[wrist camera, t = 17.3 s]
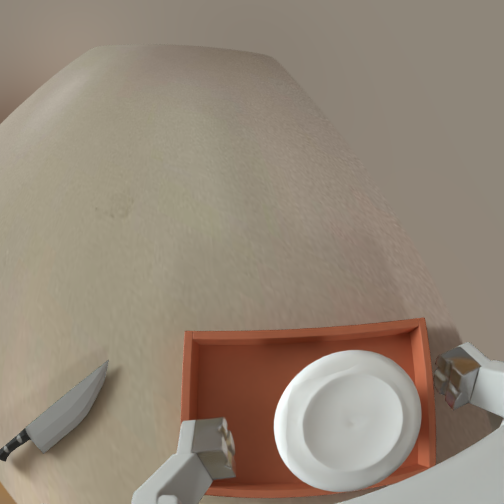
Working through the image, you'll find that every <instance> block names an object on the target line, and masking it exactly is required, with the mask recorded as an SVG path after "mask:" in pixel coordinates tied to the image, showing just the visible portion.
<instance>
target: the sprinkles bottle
mask: <svg viewBox="0 0 504 504" xmlns="http://www.w3.org/2000/svg"><path fill="white" fill-rule="evenodd" d="M420 426H421V403H420V398H419V395H418V392H417V389H416V387H415V385H414V383H413V381H412V379H411V378H410V376H409V375H408V374H407V373H406V372H405V370H404V369H402V368H401V367H400V366H399V365H398V364H397V363H395V362H394V361H393V360H391V359H390V358H387V357H385V356H383V355H381V354H378V353H375V352H371V351H364V350H347V351H340V352H336V353H332V354H330V355H327V356H324V357H322V358H320V359H318V360H316V361H314V362H313V363H311V364H309V365H308V366H307V367H305V368H304V369H303V370H302V371H301V372H300V373H299V374H297V375H296V376H295V378H294V379H293V380H292V381H291V382H290V383H289V385H288V386H287V387H286V389H285V391H284V392H283V394H282V396H281V398H280V400H279V403H278V405H277V409H276V412H275V418H274V435H275V441H276V445H277V448H278V451H279V454H280V456H281V458H282V460H283V461H284V463H285V465H286V466H287V467H288V468H289V469H290V471H291V472H292V473H293V474H294V475H295V476H297V477H298V478H299V479H300V480H302V481H303V482H305V483H307V484H308V485H310V486H313V487H315V488H318V489H321V490H326V491H331V492H350V491H356V490H361V489H365V488H367V487H370V486H372V485H374V484H377V483H379V482H380V481H382V480H384V479H385V478H387V477H388V476H390V475H391V474H392V473H393V472H394V471H396V470H397V469H398V468H399V467H400V466H401V465H402V463H403V462H404V461H405V460H406V459H407V457H408V456H409V454H410V452H411V451H412V449H413V447H414V445H415V443H416V440H417V437H418V434H419V430H420Z"/></svg>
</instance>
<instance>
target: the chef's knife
mask: <svg viewBox="0 0 504 504" xmlns="http://www.w3.org/2000/svg"><path fill="white" fill-rule="evenodd" d="M108 362H109V360H108V361H106V362H105V363H104V364H103V365H101V366H100V367H99V368H97V369H96V370H95V371H94V372H92V373H91V374H90V375H89V376H87V377H86V378H85V379H84V380H82V381H81V382H80V383H79V384H77V385H76V386H75V387H74V388H72V389H71V390H70V391H69V392H67V393H66V394H65V395H64V396H63V397H61V398H60V399H59V400H58V401H57V402H55V403H54V404H53V405H52V406H51V407H49V408H48V409H47V410H46V411H45V412H43V413H42V414H41V415H40V416H39V417H37V418H36V419H35V420H34V421H33V422H31V423H30V424H29V425H28V426H27V427H26V428H25V429H24V430H23V431H21V432H20V433H19V434H18V435H17V436H16V437H15V438H13V439H12V440H11V441H10V442H9V443H7V444H6V445H5V446H4V447H3V448H1V449H0V460H3V461H6V459H7V457H8V456H9V454H10V453H11V452H12V451H13V450H15V449H16V448H17V447H19V446H20V445H22V444H24V443H25V442H27V441H28V440H29V439H30V440H32V441H33V442H34V443H35V445H36V446H37V447H38V448H39V449H40V450H41V452H42V453H43V454H44V453H45V452H46V451H47V450H49V449H50V448H51V447H52V446H53V445H55V444H56V443H57V442H58V441H59V440H61V439H62V438H63V437H64V436H65V435H67V434H68V433H69V432H70V431H71V430H72V429H74V428H75V427H76V426H77V425H78V424H79V423H80V422H81V421H82V420H83V419H84V417H85V416H86V415H87V414H88V412H89V410H90V408H91V406H92V405H93V403H94V401H95V399H96V397H97V395H98V393H99V391H100V389H101V387H102V385H103V383H104V380H105V376H106V371H107V366H108Z"/></svg>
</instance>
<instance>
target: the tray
mask: <svg viewBox="0 0 504 504" xmlns="http://www.w3.org/2000/svg"><path fill="white" fill-rule="evenodd" d="M347 350H364V351H371V352H375V353H378V354H381V355H383V356H385V357H387V358H390V359H391V360H393V361H394V362H395V363H397V364H398V365H399V366H400V367H401V368H402V369H404V370H405V372H406V373H407V374H408V375H409V376H410V378H411V379H412V381H413V383H414V385H415V387H416V389H417V392H418V395H419V398H420V403H421V426H420V430H419V434H418V437H417V440H416V443H415V445H414V447H413V449H412V451H411V452H410V454H409V456H408V457H407V459H406V460H405V461H404V462H403V463H402V465H401V466H400V467H399V468H398V469H397V470H396V471H394V472H393V473H392V474H391V475H390V476H388V477H387V478H385V479H384V480H382V481H380V482H379V483H377V484H374V485H372V486H370V487H367V488H365V489H369V488H375V487H380V486H385V485H389V484H394V483H398V482H400V481H402V480H405V479H407V478H410V477H412V476H414V475H416V474H418V473H421V472H423V471H425V470H427V469H429V468H431V467H433V466H435V465H436V419H435V399H434V386H433V375H432V365H431V357H430V349H429V341H428V334H427V328H426V322H425V318H416V319H408V320H400V321H391V322H382V323H372V324H361V325H350V326H337V327H323V328H307V329H287V330H260V331H185V336H184V353H183V372H182V398H181V424H182V422H183V421H187V420H197V419H207V418H216V417H225V419H226V421H227V429H228V430H230V431H231V433H232V436H233V439H234V444H235V455H234V456H233V458H234V460H235V463H236V477H233V478H226V479H217V480H213V482H212V484H211V485H210V487H209V488H208V490H207V491H206V493H205V494H204V495H213V496H225V497H245V498H286V497H305V496H318V495H328V494H337V493H344V492H331V491H326V490H321V489H318V488H315V487H313V486H310V485H308V484H307V483H305V482H303V481H302V480H300V479H299V478H298V477H297V476H295V475H294V474H293V473H292V472H291V471H290V469H289V468H288V467H287V466H286V465H285V463H284V461H283V460H282V458H281V456H280V454H279V451H278V448H277V445H276V441H275V435H274V418H275V412H276V409H277V405H278V403H279V400H280V398H281V396H282V394H283V392H284V391H285V389H286V387H287V386H288V385H289V383H290V382H291V381H292V380H293V379H294V378H295V376H296V375H297V374H299V373H300V372H301V371H302V370H303V369H304V368H305V367H307V366H308V365H309V364H311V363H313V362H314V361H316V360H318V359H320V358H322V357H324V356H327V355H330V354H332V353H336V352H340V351H347ZM361 490H364V489H361ZM356 491H358V490H356ZM350 492H351V491H350Z"/></svg>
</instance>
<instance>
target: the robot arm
mask: <svg viewBox="0 0 504 504" xmlns="http://www.w3.org/2000/svg"><path fill="white" fill-rule="evenodd" d="M435 364H436V365H437V369H436V370H435V372H434V376H433V381H434V386H435V388H436V390H437V391H438V392H439V394H442V395H445V401H446V402H447V404H448V405H449V406H450V407H451V409H452V410H455V409H457V408H459V407H461V406H463V405H465V404H467V403H469V402H470V403H471V404H473V405H475V406H478V407H480V408H482V409H485V410H487V411H489V412H492V413H494V414H497V415H499V416H501V417H504V362H502V361H498V360H492V361H491V360H490V359H488V358H487V357H486V356H485V355H484V354H483V353H482V352H480V351H479V350H478V349H477V348H476V347H474V346H473V345H472V344H471V343H470V342H466V343H464V344H462V345H460V346H458V347H456V348H453V349H451V350H449V351H447V352H445V353H443V354H441V355H438V357H437V358H436V363H435ZM234 455H235V444H234V439H233V436H232V433H231V431H230V430H228V429H227V421H226V419H225V417H216V418H207V419H197V420H187V421H183V422H182V424H181V429H180V435H179V442H178V448H177V454H173V455H172V456H171V457H170V458H169V459H168V460H167V461H166V462H165V463H164V464H163V465H162V466H161V467H160V468H159V469H158V470H157V471H156V472H155V473H154V474H153V475H152V476H151V477H150V478H149V479H148V480H147V481H145V482H144V483H143V484H142V485H141V486H140V487H139V488H138V489H137V490H136V491H135V492H134V493H133V498H132V502H131V504H198V503H199V501H200V500H201V498H202V497H203V496H204V494H205V493H206V491H207V490H208V488H209V487H210V485H211V484H212V482H213V480H217V479H226V478H233V477H236V463H235V460H234V458H233V456H234ZM336 504H504V418H503V421H502V423H501V425H500V427H499V428H498V429H497V430H495V431H494V432H492V433H491V434H489V435H488V436H486V437H484V438H483V439H481V440H480V441H478V442H477V443H475V444H473V445H472V446H470V447H468V448H467V449H465V450H463V451H461V452H460V453H458V454H456V455H454V456H452V457H451V458H449V459H447V460H445V461H443V462H441V463H439V464H437V465H435V466H433V467H431V468H429V469H427V470H425V471H423V472H421V473H418V474H416V475H414V476H412V477H410V478H407V479H405V480H402V481H400V482H398V483H395V484H393V485H390V486H388V487H385V488H382V489H380V490H377V491H374V492H371V493H368V494H365V495H362V496H359V497H356V498H353V499H350V500H347V501H343V502H340V503H336Z"/></svg>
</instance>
